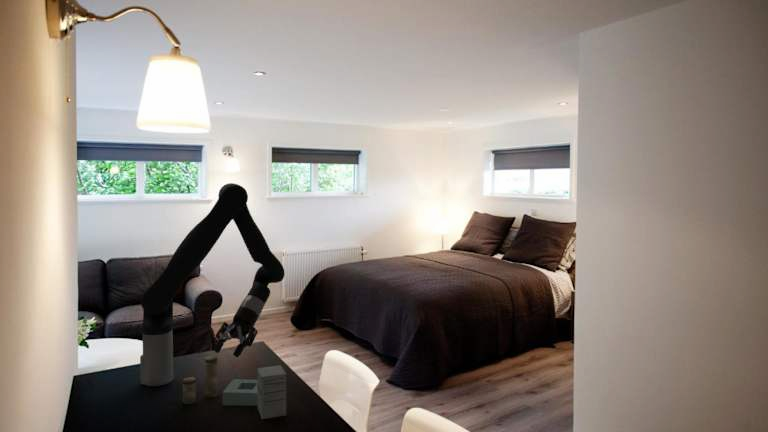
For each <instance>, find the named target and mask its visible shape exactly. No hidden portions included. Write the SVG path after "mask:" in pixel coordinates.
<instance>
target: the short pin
mask: <svg viewBox="0 0 768 432" xmlns="http://www.w3.org/2000/svg"><path fill="white" fill-rule="evenodd" d="M196 379H197V378H196V377H192V376H191V377H185V378H183V379H182V403H183V404H184V405H191V404H195V402H196V401H197V399H196V398H197V396H196V395H197V392H196V391H197V389H196V387H197V386H196Z"/></svg>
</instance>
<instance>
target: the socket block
mask: <svg viewBox="0 0 768 432" xmlns="http://www.w3.org/2000/svg"><path fill="white" fill-rule="evenodd" d="M222 406H243V407H246V406H247V407H248V406H251V407H257V379H237V378H236V379H234V378H233V379H232V380H231V382H230V383H229V384H228V385H227V386H226V387H225V388H224V390H223V391H222Z"/></svg>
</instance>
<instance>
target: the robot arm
mask: <svg viewBox="0 0 768 432" xmlns="http://www.w3.org/2000/svg"><path fill="white" fill-rule="evenodd" d="M248 199H249V195H248V191H247V190H246V189H245V188H244V187H243V186H242V185H240V184H237V183H232V182H231V183H226V184H224V185H223V186H222V187H221V188H220V189H219V192H218V199H217V201H216V202H215V203H214V205H213V207H212V209H211V210H210V211H209V212H208V214H207V215H205V217H204V218H203V219H202V220H201V221H200V222H198V223H197V224H196V225H195V226H194V227H193V228H192V229H191V230H190V231H189V232H188V233H187V235H186V236H185V237H184V239H183V240H182V241H181V242H180V244H179V245H178V246H177V249H176V250H175V251H174V253H173V255H172V257H171V258H170V260H169V262H168V264H167V266H166V267H165V268H164V270H163V271H162V273H160V274H159V276H158V277H157V279H155V281H154V282H153V283H151V284H150V285H148V286H147V287H146V288H145V290H144V291H143V293H142V294H141V297H140V305H141V307H142V310H143V311H142V312H143V315H142V318H143V319H142V326H141V327H142V328H141V329H142V354H141V355H140V357H139V362H140V363H139V366H140V368H139V370H140V385H145V386H147V387H160V386H163V385H167V384H170V383H171V382H173V380H174V346H173V345H174V343H173V341H174V337H173V330H174V327H173V325H174V323H173V322H174V299H175V296H176V295H177V293H178V292H179V290H180V288H181V287H182V285H183V284H184V283H185V281H186V280H187V279H188V278H189V277H190V276H191V275H192V274H193V273H194V272H195V271H196V270H197V268H199V266H200V265H201V263H202V262H203V261H204V260H205V258H206V257H207V256H208V255H209V253H210V251H212V249H213V248H214V246H215V245H216V243H217V242H218V240H219V239H220V237H221V236H222V234H223V232H224V231H225V229H227V227H228V225H229V224H230V223H231V222H232V220H233V222H234V224H235V225H236V227H237V229H238V231H239V233H240V235H241V238H242V240H243V243H244V244H245V246H246V249H247V251H248V253H249V255H250V257H251V258H252V261H253V262H255V263H257V264H260V265H261V266H260V267H259V268H257V270H256V271H255V275H254V278H253V282H252V286H251V288H250V289H249V291H248V293H247V295H246V297H245V298H244V299H243V300H242V302H241V304H240V306H239V307H238V309H237V310H236V312H235V313H234V316H233V317H232V322H231V323H227V322H226V321H224V322H223V323H222V325H221V326H220V327H219V329H218V331H217V333H216V334H215V335H214V337H215V338H216V339H217V342H216V344H215V345H214V347H213V351H214V352H215V354H219V353H220V352H221V350H222V347H223V346H224V343H226V342H228V341H230V340H231V339H233V340H234V339H235V340H236V339H237V340H239V343H238V344H237V346H236V348H235V350H234V351H233V356H234V357H235V358H239V357H240V356H241V354H242V353H243V352H244V350H245V348H246V347H249V348H250V347H252V345H253V343H254V341H255V338H256V337H257V334H258V333H259V331H258V330H257V328H256V327H254V326H255V325H256V323H257V321H258V319H259V318H260V316H261V314H262V312H263V310H264V307H265V305H266V303H267V301H268V299H269V297H270V295H271V290H270V288H269V287H268V286H269V285H270V284H276V283H280V282H282V281H283V280H284V278H285V275H286V274H285V269H284V265H283V264H282V263H281V261H280V260H279V259H278V257H276V256H275V254H274V253H273V252H272V251H271V249H270V247H269V245H268V242H267V240H266V239H265V236H264V235H263V233H262V232H261V230H260V228H259V227H258V225H257V223H256V222H255V220H254V219H253V216H252V214H251V212H250V209H249V207H248V204H247V203H248Z"/></svg>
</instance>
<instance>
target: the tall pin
mask: <svg viewBox="0 0 768 432" xmlns="http://www.w3.org/2000/svg"><path fill="white" fill-rule="evenodd" d="M204 365H205V366H204V368H205V369H204V370H205V371H204V372H205V398H209V399H210V398H215V397H217V396H218V395H219V393H218V392H219V391H218V388H219V387H218V385H219V383H218V356H216V355H211V356H210V355H209V356H206V357H205V358H204Z"/></svg>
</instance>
